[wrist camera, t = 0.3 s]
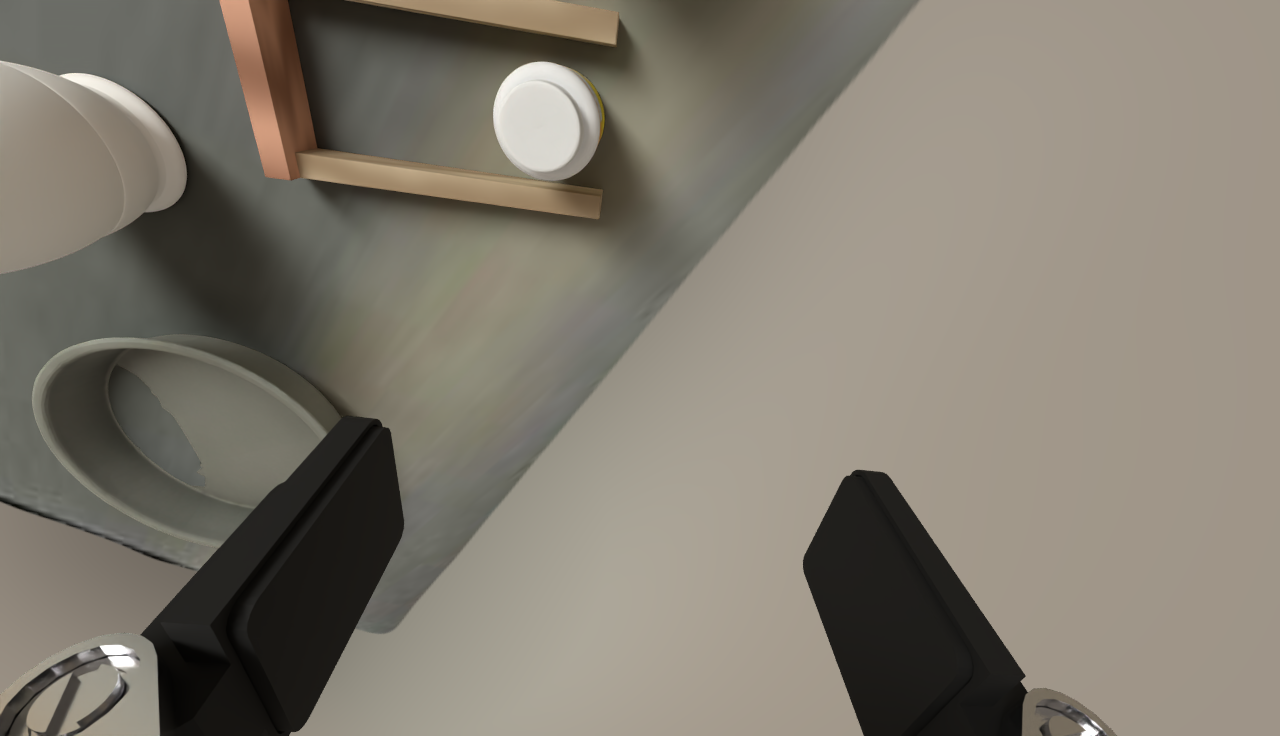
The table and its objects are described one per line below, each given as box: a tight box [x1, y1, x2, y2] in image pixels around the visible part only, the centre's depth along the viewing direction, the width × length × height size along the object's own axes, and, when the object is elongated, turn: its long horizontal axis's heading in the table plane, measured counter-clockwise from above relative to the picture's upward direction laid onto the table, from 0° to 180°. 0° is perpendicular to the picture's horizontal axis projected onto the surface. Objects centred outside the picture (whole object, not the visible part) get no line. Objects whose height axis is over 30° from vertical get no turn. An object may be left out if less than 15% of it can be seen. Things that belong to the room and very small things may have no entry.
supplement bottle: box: [493, 62, 605, 181], centre depth 26 cm, size 6×6×10 cm
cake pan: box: [32, 334, 342, 548], centre depth 42 cm, size 25×25×4 cm
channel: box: [220, 0, 619, 219], centre depth 29 cm, size 12×21×4 cm, turn 82°
